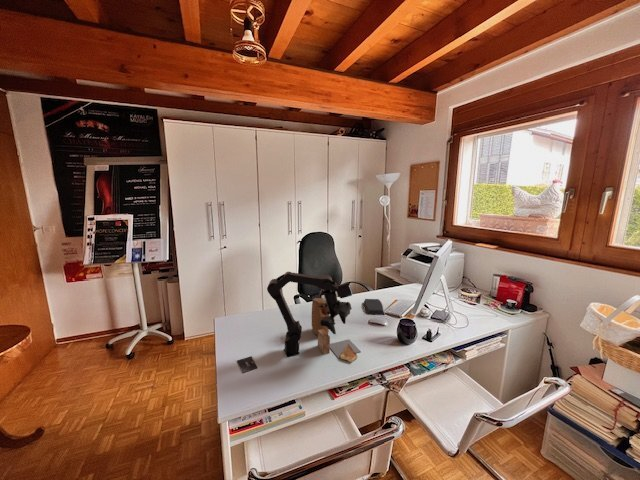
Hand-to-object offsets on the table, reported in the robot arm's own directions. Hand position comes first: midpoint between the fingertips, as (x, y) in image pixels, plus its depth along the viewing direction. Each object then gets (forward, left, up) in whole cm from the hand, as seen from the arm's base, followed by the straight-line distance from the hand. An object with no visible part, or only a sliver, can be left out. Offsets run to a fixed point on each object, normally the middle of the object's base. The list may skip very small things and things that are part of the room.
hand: (339, 328), depth 131 cm
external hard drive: (+46, +35, -13) cm, 59 cm away
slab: (-6, +5, -13) cm, 15 cm away
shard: (+2, -4, -12) cm, 13 cm away
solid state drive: (-44, +8, -13) cm, 47 cm away
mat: (+4, +1, -13) cm, 13 cm away
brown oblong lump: (-1, +20, -13) cm, 24 cm away
